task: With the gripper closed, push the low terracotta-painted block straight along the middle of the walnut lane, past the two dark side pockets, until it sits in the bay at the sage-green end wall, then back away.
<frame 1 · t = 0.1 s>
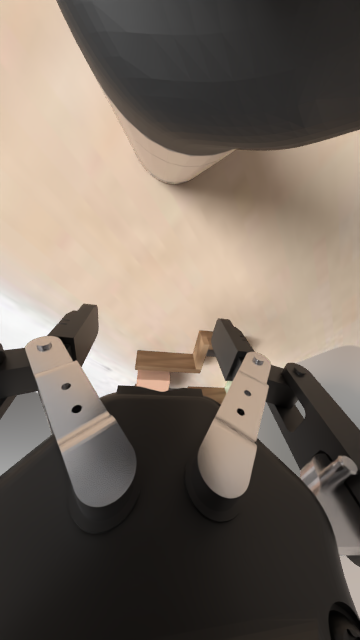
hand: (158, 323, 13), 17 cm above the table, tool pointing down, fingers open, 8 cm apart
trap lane: (187, 373, 41), on the table
block: (153, 370, 40), on the table
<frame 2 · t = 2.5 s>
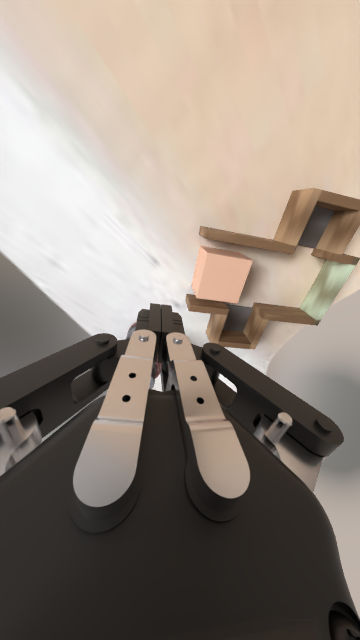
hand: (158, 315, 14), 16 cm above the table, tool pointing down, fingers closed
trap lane: (258, 276, 30), on the table
block: (214, 269, 29), on the table
supplement bottle: (145, 332, 34), on the table
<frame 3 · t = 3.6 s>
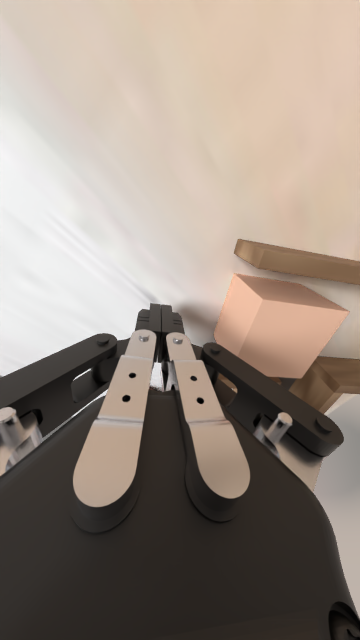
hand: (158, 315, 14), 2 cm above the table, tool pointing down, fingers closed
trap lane: (325, 319, 18), on the table
block: (253, 310, 17), on the table
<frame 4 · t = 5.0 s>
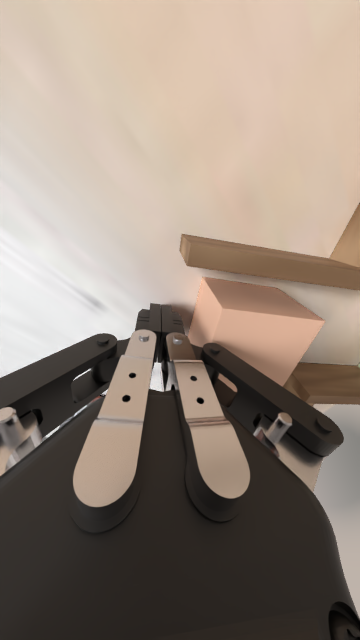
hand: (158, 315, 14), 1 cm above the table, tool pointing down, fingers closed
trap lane: (294, 322, 16), on the table
block: (228, 317, 15), on the table, touching gripper
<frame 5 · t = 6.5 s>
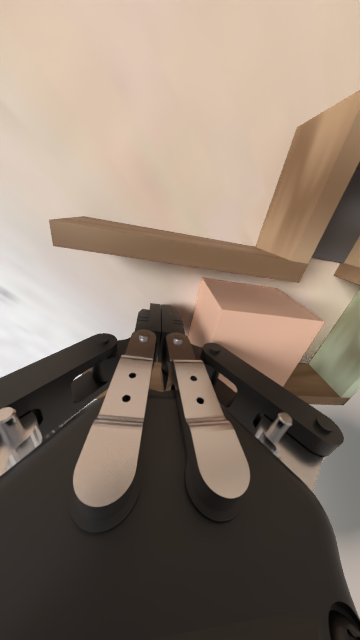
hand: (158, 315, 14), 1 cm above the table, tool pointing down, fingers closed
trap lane: (231, 316, 15), on the table
block: (228, 317, 15), on the table, touching gripper
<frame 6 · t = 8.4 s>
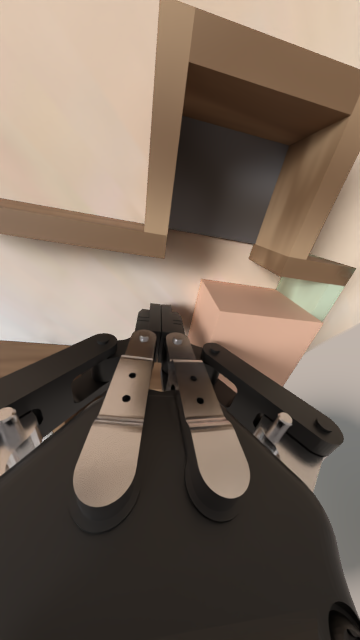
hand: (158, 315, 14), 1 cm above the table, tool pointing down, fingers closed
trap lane: (143, 304, 14), on the table
block: (228, 318, 16), on the table, touching gripper, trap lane
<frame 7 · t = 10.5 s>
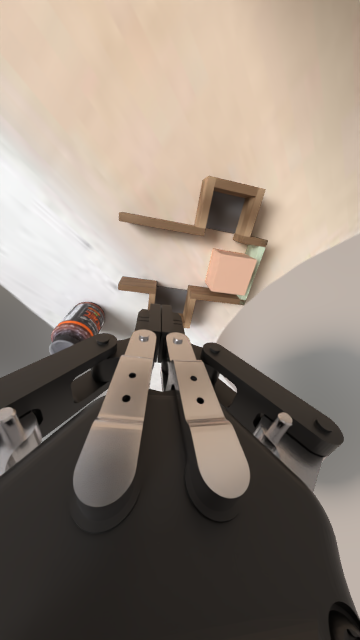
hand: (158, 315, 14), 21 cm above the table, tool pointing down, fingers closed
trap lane: (187, 260, 33), on the table
block: (224, 267, 34), on the table
supplement bottle: (90, 314, 36), on the table
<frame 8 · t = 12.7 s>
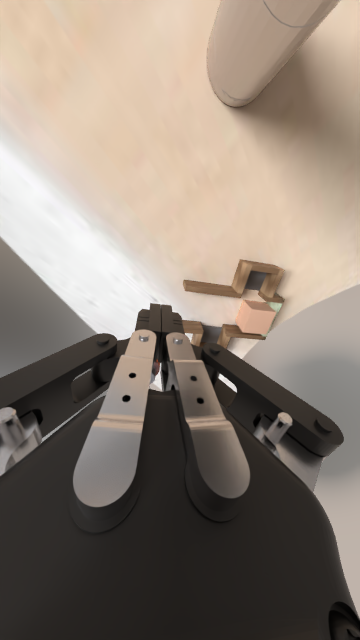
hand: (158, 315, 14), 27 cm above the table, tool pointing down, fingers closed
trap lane: (224, 307, 45), on the table
block: (250, 312, 46), on the table
supplement bottle: (148, 344, 49), on the table
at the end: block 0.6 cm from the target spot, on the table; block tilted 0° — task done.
